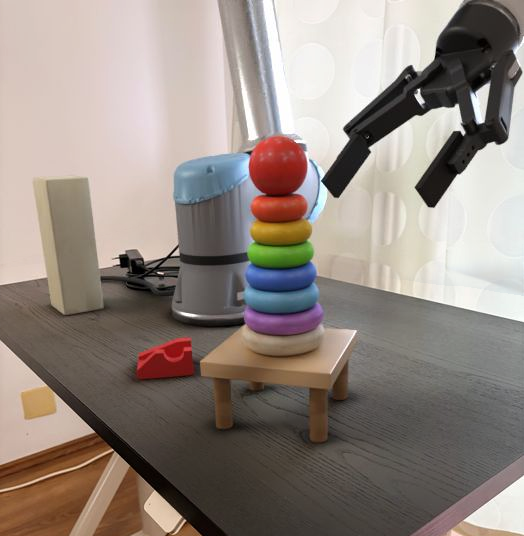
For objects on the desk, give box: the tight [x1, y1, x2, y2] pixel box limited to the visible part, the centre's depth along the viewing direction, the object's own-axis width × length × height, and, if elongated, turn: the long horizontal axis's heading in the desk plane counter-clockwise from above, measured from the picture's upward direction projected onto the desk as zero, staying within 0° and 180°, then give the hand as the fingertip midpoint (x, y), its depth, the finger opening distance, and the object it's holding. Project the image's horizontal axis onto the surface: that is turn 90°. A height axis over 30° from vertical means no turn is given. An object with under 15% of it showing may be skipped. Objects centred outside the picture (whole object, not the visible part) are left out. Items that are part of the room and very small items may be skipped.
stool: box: [199, 323, 358, 443], centre depth 57 cm, size 12×12×7 cm
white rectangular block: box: [31, 174, 104, 316], centre depth 95 cm, size 8×7×21 cm
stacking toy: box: [241, 136, 325, 356], centre depth 53 cm, size 8×8×19 cm
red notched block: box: [136, 336, 195, 380], centre depth 69 cm, size 6×5×3 cm
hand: (372, 193), depth 58 cm, fingers open, 13 cm apart
